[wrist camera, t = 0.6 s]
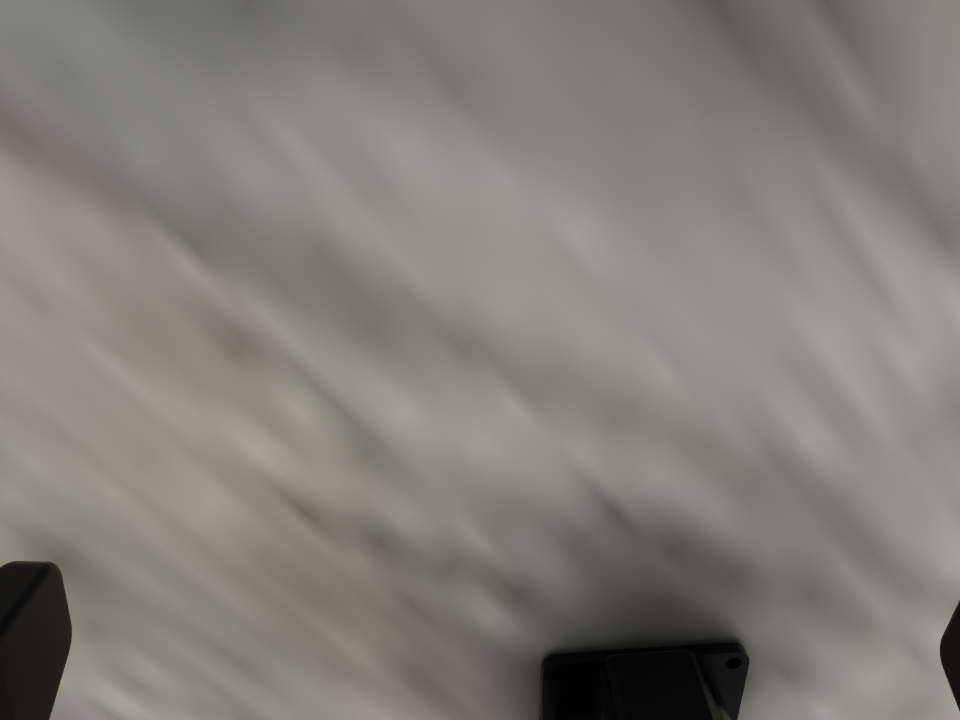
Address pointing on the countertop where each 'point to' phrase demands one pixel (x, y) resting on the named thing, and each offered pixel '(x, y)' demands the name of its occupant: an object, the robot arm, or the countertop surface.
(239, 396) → the countertop surface
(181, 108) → the countertop surface
